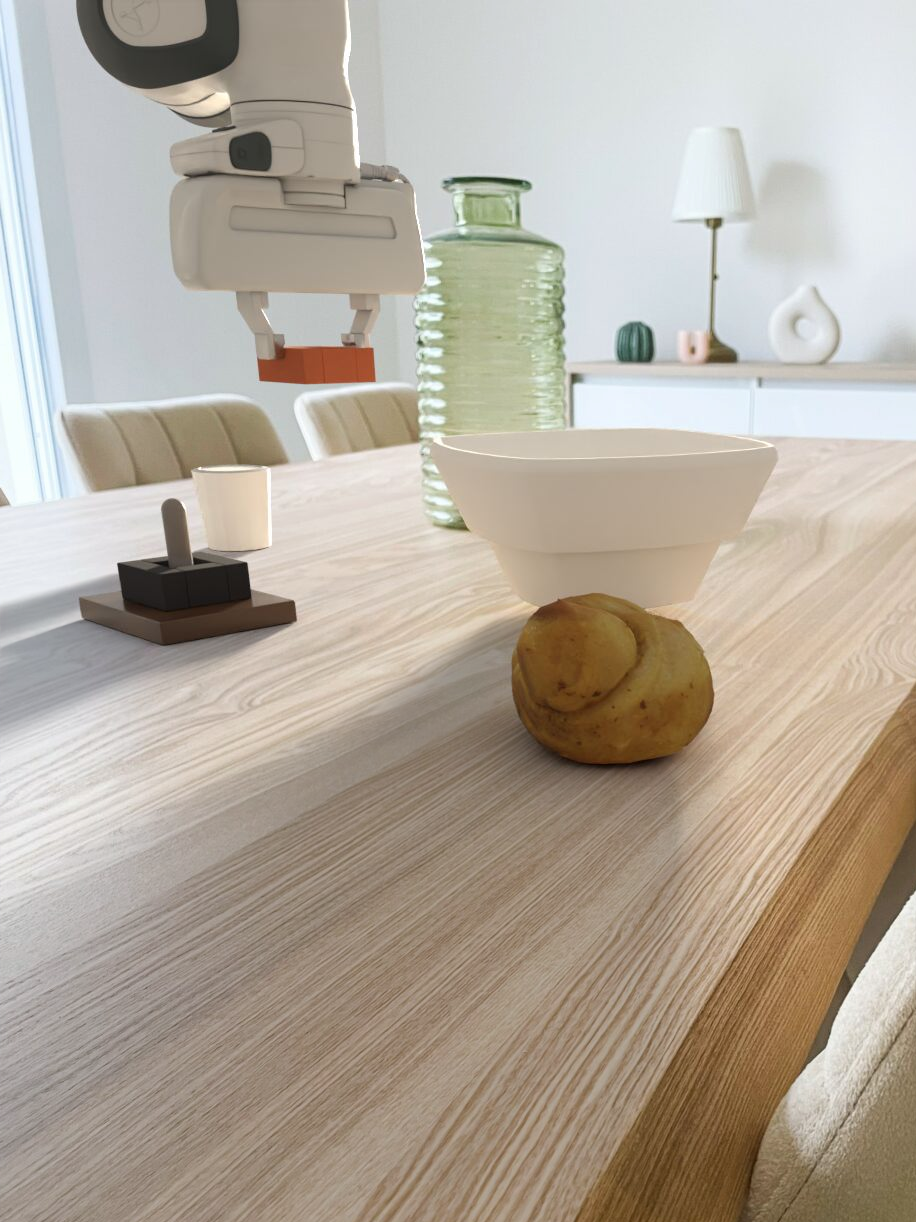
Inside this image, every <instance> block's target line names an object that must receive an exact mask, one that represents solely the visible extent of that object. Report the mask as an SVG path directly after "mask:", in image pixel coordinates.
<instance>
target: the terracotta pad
mask: <svg viewBox="0 0 916 1222" xmlns="http://www.w3.org/2000/svg"><path fill="white" fill-rule="evenodd" d="M284 349H285V358H284V359H275V360H265V359H259V358H258V357H257V356H256V361H257V371H258V378H259V379H258V380H259V382H265V383H280V384H295V385H331V384H332V385H333V384H355V383H356V384H357V383H358V384H360V383H364V384H365V383H376V382H377V380H376V377H377V376H376V363H375V351H374V350H375V349H374V347H370V348H369V347H343V346H339V345H290V346H289V345H287V346H285V345H284Z"/></svg>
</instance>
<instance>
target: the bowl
mask: <svg viewBox="0 0 916 1222" xmlns="http://www.w3.org/2000/svg"><path fill="white" fill-rule="evenodd" d="M429 456H430V458H431V460H432V462H433V464H434V465H435V467H436V470H437V472H438V473H439V476H440V477H441V479H442V481H443V483H444V486H445V487H446V489H447V491H448V493H449V495H450V497H451V499H452V501H453V503H454V505H455V507H456V508H457V511H458V512H459V514H460V516H461V519H462V520H463V522H464V524H465V527H466V528H467V529H468V530H469V531H470V532H471V533H472V534H474V535H476V536H478V538H481V539H484V540H486V541H487V543H488V544H489V546H490V548H491V550H492V552H493V554H494V556H495V559H496V561H497V563H498V564H499V567H500V569H501V571H502V573H503V574H504V577H505V580H506V581H507V583H508V586H509V587H510V589H511V591H512V592H513V593H514V594H515V595H516V597H517V598H519V599H520V600H521V601H523V602H525V603H527V604H530V605H532V606H535V607H537V608H540V607H542V606H545V605H548V604H550V603H553V602H556V601H557V600H558V598H559V599H563V598H567V597H571V596H573V597H574V596H579V595H586V594H590V593H602V594H606V595H609V596H613V597H616V598H621V599H625V600H627V601H630V602H632V603H634V604H636V605H638V606H639V607H641V608H643V609H644V610H647V609H653V608H660V607H666V606H672V605H678V604H683V603H689V602H691V601H693V600H694V599H695V597H696V595H697V593H698V592H699V589H700V587H701V585H702V583H703V580H704V578H705V577H706V574H707V573H708V570H709V568H710V566H711V564H712V562H713V560H714V558H715V556H716V553H717V552H718V550H719V547H720V545H721V543H722V542H723V541H724V540H730V539H735V538H738V537H740V535H741V533H742V532H743V529H744V527H745V525H746V523H747V522H748V520H749V519H750V516H751V514H752V513H753V510H754V508H755V506H756V504H757V502H758V500H759V499H760V496H761V494H762V492H763V491H764V489H765V487H766V485H767V483H768V481H769V479H770V477H771V475H772V473H773V471H774V469H775V467H776V466H777V464H778V461H779V455H778V450H777V448H776V446H775V445H773V444H772V443H770V442H768V441H763V440H759V439H755V438H750V437H749V438H748V437H742V436H736V435H730V434H724V433H715V432H714V433H713V432H708V431H699V430H689V429H679V428H667V427H666V428H663V427H606V428H605V427H604V428H575V429H573V428H572V429H571V428H570V429H545V430H524V431H505V432H503V431H502V432H486V433H484V432H483V433H469V434H455V435H454V434H453V435H444V436H443V435H442V436H435V437H434V439H433V440H432V442H431V444H430V448H429Z"/></svg>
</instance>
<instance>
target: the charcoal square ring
mask: <svg viewBox="0 0 916 1222" xmlns="http://www.w3.org/2000/svg"><path fill="white" fill-rule="evenodd" d="M192 558H193V565H191V566H184V567H176V568H169V562H168V555H165V556H158V557H149V558H143V559H142V558H141V559H136V560H135V559H134V560H127V561H121V562H117V563H116V565H117V573H118V579H119V585H120V591H121V592H122V598H123V599H126V600H129V601H133V602H136V603H139V604H143V605H146V606H150V607H153V608H156V609H160V610H163V611H166V612H169V611H175V610H181V609H187V608H194V607H200V606H206V605H212V604H218V603H225V602H229V601H237V600H243V599H249V598H252V595H251V587H252V586H251V579H250V571H249V570H250V569H249V563H248V562H247V561H243V560H239V559H235V558H230V557H226V556H222V555H218V554H213V553H210V552H205V551H195V552H192Z"/></svg>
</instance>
